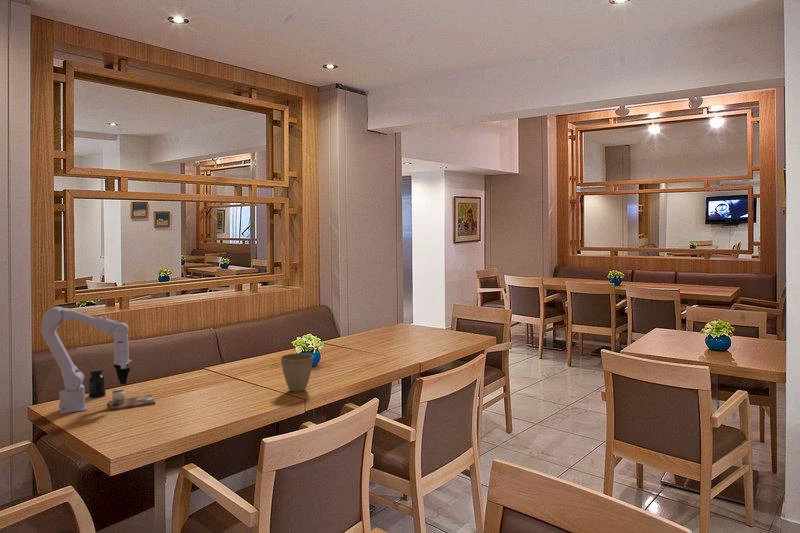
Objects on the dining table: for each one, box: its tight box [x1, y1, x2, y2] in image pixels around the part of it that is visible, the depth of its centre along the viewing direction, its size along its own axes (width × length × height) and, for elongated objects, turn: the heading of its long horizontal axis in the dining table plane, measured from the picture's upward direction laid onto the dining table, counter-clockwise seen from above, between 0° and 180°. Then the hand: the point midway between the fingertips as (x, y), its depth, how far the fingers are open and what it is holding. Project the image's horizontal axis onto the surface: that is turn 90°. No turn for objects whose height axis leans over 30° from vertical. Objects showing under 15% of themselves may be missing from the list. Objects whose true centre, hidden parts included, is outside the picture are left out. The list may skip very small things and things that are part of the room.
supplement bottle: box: [87, 368, 107, 399], centre depth 253 cm, size 7×7×12 cm
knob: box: [111, 389, 126, 401], centre depth 238 cm, size 5×5×4 cm
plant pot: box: [280, 353, 314, 392], centre depth 259 cm, size 15×15×16 cm
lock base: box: [108, 394, 156, 412], centre depth 241 cm, size 17×13×3 cm
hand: (122, 382), depth 240 cm, fingers open, 7 cm apart
